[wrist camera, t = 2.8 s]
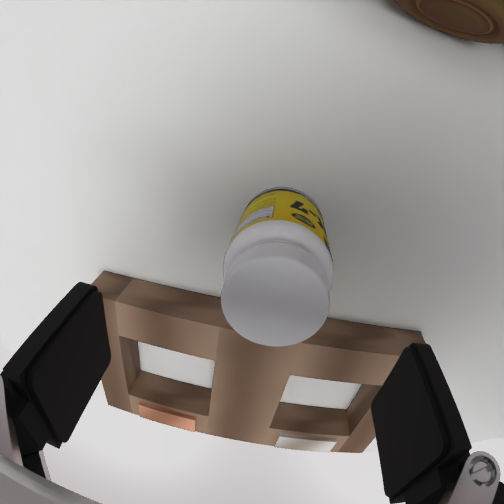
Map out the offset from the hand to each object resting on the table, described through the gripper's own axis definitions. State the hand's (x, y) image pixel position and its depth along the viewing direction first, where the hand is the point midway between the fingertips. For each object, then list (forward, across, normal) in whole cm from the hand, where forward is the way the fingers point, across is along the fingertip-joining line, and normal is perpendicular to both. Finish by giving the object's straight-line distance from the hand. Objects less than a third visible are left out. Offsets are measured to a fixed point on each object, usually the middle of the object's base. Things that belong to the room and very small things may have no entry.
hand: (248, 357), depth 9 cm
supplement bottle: (+11, -1, 0) cm, 11 cm away
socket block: (+11, -1, +12) cm, 17 cm away
